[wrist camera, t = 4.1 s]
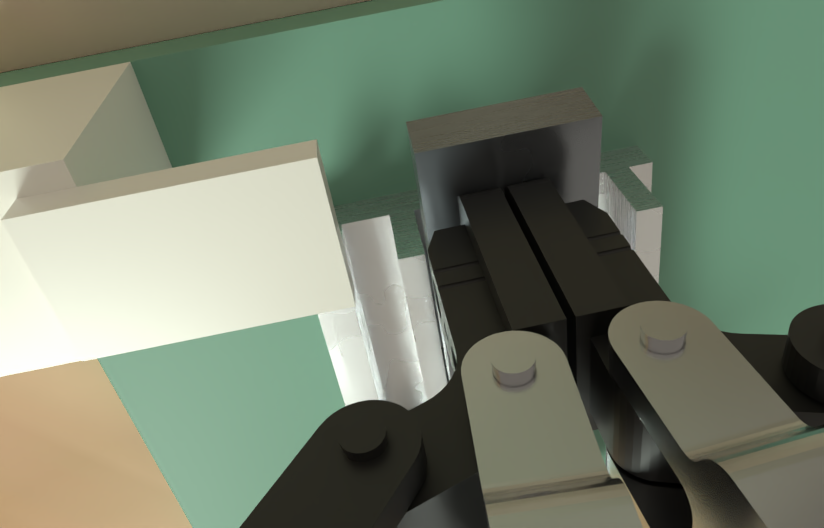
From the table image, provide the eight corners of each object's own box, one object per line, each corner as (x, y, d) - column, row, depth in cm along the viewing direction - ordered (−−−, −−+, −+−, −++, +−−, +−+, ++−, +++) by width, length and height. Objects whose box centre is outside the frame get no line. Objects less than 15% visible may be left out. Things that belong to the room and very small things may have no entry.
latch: (309, 26, 15) (309, 127, 11) (347, 185, 17) (361, 327, 13) (-51, 96, 15) (-213, 231, 10) (34, 247, 17) (-68, 413, 13)
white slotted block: (636, 145, 18) (689, 201, 15) (629, 391, 23) (667, 462, 20) (294, 214, 18) (291, 281, 15) (362, 445, 23) (369, 524, 20)
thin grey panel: (572, 537, 22) (584, 574, 21) (475, 557, 22) (483, 595, 21) (585, 83, 12) (611, 118, 11) (399, 120, 12) (408, 157, 11)
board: (890, -102, 16) (1206, -47, 11) (776, 435, 27) (902, 607, 21) (-28, 78, 16) (-217, 234, 10) (224, 549, 27) (200, 754, 21)
